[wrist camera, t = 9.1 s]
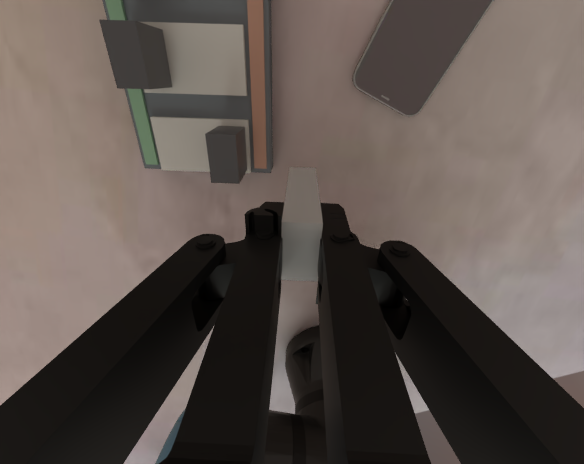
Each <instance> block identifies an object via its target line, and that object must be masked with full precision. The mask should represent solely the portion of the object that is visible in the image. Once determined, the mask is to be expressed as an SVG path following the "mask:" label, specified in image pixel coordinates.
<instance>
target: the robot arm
mask: <svg viewBox="0 0 584 464" xmlns="http://www.w3.org/2000/svg"><path fill="white" fill-rule="evenodd" d="M245 224H246V236H245V239H244V240H241V241H238V242H234V243H227V244H225V242H224V239H223V238H222V237H221V236H219V235H216V234H202V235H199V236H196V237H194V238H192V239H191V240H189V241H188V242H187V243H186V244H184V245H183V246H182V247H181V248H180V249H179V250H178V251H176V252H175V253H174V254H173V255H172V256H171V257H170V258H169V259H167V260H166V261H165V262H164V263H163V264H162V265H161V266H159V267H158V268H157V269H156V270H155V271H154V272H153V273H151V274H150V275H149V276H148V277H147V278H146V279H145V280H143V281H142V282H141V283H140V284H139V285H138V286H137V287H135V288H134V289H133V290H132V291H131V292H130V293H129V294H127V295H126V296H125V297H124V298H123V299H122V300H121V301H119V302H118V303H117V304H116V305H115V306H114V307H113V308H111V309H110V310H109V311H108V312H107V313H106V314H105V315H103V316H102V317H101V318H100V319H99V320H98V321H97V322H95V323H94V324H93V325H92V326H91V327H90V328H89V329H87V330H86V331H85V332H84V333H83V334H82V335H81V336H79V337H78V338H77V339H76V340H75V341H74V342H73V343H71V344H70V345H69V346H68V347H67V348H66V349H65V350H63V351H62V352H61V353H60V354H59V355H58V356H57V357H55V358H54V359H53V360H52V361H51V362H50V363H49V364H47V365H46V366H45V367H44V368H43V369H42V370H41V371H39V372H38V373H37V374H36V375H35V376H34V377H33V378H31V379H30V380H29V381H28V382H27V383H26V384H25V385H23V386H22V387H21V388H20V389H19V390H18V391H17V392H15V393H14V394H13V395H12V396H11V397H10V398H9V399H7V400H6V401H5V402H4V403H3V404H2V405H1V406H0V464H123V463H124V462H125V460H126V459H127V457H128V456H129V454H130V452H131V451H132V449H133V448H134V446H135V445H136V443H137V442H138V440H139V439H140V437H141V436H142V434H143V433H144V431H145V430H146V428H147V427H148V425H149V424H150V422H151V421H152V419H153V418H154V416H155V414H156V413H157V411H158V410H159V408H160V407H161V405H162V404H163V402H164V401H165V399H166V398H167V396H168V395H169V393H170V392H171V390H172V389H173V387H174V386H175V384H176V383H177V381H178V380H179V378H180V376H181V375H182V373H183V372H184V370H185V369H186V367H187V366H188V364H189V363H190V361H191V360H192V358H193V357H194V355H195V354H196V352H197V351H198V349H199V348H200V346H201V345H202V343H203V342H204V340H205V338H206V337H207V335H208V334H209V332H210V331H211V329H212V328H213V326H214V325H215V326H214V329H213V332H212V334H211V337H210V340H209V343H208V346H207V349H206V352H205V355H204V358H203V360H202V363H201V366H200V369H199V372H198V375H197V378H196V381H195V384H194V386H193V389H192V392H191V395H190V398H189V401H188V404H187V407H186V409H185V410H184V411H183V412H182V414H181V415H180V417H179V418H178V420H177V421H176V423H175V425H174V427H173V429H172V430H171V432H170V434H169V436H168V438H167V440H166V442H165V444H164V446H163V448H162V450H161V453H160V455H159V457H158V459H157V461H156V463H155V464H431V462H430V459H429V457H428V454H427V451H426V448H425V445H424V441H423V438H422V435H421V432H420V429H419V426H418V423H417V420H416V417H415V413H414V410H413V407H412V404H411V401H410V398H409V395H408V392H407V389H406V386H405V382H404V379H403V376H402V373H401V370H400V367H399V364H398V361H397V358H396V354H397V356H398V358H399V359H400V361H401V363H402V364H403V366H404V368H405V369H406V371H407V373H408V374H409V376H410V378H411V380H412V381H413V383H414V385H415V386H416V388H417V390H418V391H419V393H420V395H421V396H422V398H423V400H424V402H425V403H426V405H427V407H428V408H429V410H430V412H431V413H432V415H433V417H434V418H435V420H436V422H437V423H438V425H439V427H440V428H441V430H442V432H443V434H444V435H445V437H446V439H447V440H448V442H449V444H450V445H451V447H452V449H453V451H454V452H455V454H456V456H457V457H458V459H459V461H460V462H461V464H584V408H583V407H582V406H581V405H580V404H579V403H577V401H576V400H574V399H573V398H572V397H571V396H570V395H569V394H568V393H567V392H566V391H565V390H564V389H563V388H562V387H561V386H560V385H559V384H558V383H557V382H556V381H555V380H553V379H552V378H551V377H550V376H549V375H548V374H547V373H546V372H545V371H544V370H543V369H542V368H541V367H540V366H539V365H538V364H537V363H536V362H535V361H534V360H533V359H531V358H530V357H529V356H528V355H527V354H526V353H525V352H524V351H523V350H522V349H521V348H520V347H519V346H518V345H517V344H516V343H515V342H514V341H513V340H512V339H510V338H509V337H508V336H507V335H506V334H505V333H504V332H503V331H502V330H501V329H500V328H499V327H498V326H497V325H496V324H495V323H494V322H493V321H492V320H491V319H490V318H488V317H487V316H486V315H485V314H484V313H483V312H482V311H481V310H480V309H479V308H478V307H477V306H476V305H475V304H474V303H473V302H472V301H471V300H470V299H469V298H468V297H466V296H465V295H464V294H463V293H462V292H461V291H460V290H459V289H458V288H457V287H456V286H455V285H454V284H453V283H452V282H451V281H450V280H449V279H448V278H447V277H445V276H444V275H443V274H442V273H441V272H440V271H439V270H438V269H437V268H436V267H435V266H434V265H433V264H432V263H431V262H430V261H429V260H428V259H427V258H426V257H425V256H423V255H422V254H421V253H420V252H419V251H418V250H417V249H416V248H415V247H413V246H412V245H410V244H407V243H405V242H402V241H386V242H384V243H382V244H381V246H380V250H379V249H375V248H371V247H367V246H364V245H362V244H360V243H359V240H358V238H357V236H356V235H355V234H353V233H352V232H350V228H349V225H348V221H347V218H346V215H345V211H344V208H342V207H341V206H340V205H339V204H328V203H320V196H319V189H318V181H317V173H316V168H308V167H289V174H288V181H287V188H286V195H285V202H284V203H283V202H265V203H264V204H262V205H261V206H260V208H255V209H251V210H249V211H247V213H246V214H245ZM281 280H296V281H317V280H318V288H317V298H316V304H318V310H319V326H317V327H314V328H310V329H308V330H305V331H303V332H302V333H300V334H298V335H297V336H296V337H295V338H293V339H292V341H291V342H290V343H289V345H288V347H287V350H286V362H285V367H286V372H287V376H288V380H289V383H290V387H291V390H292V394H293V397H294V401H295V414H290V413H284V412H278V411H272V410H269V405H270V395H271V385H272V375H273V365H274V355H275V344H276V334H277V324H278V314H279V304H280V294H281ZM406 299H407V300H408V301H407V300H406ZM395 352H396V354H395Z"/></svg>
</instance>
